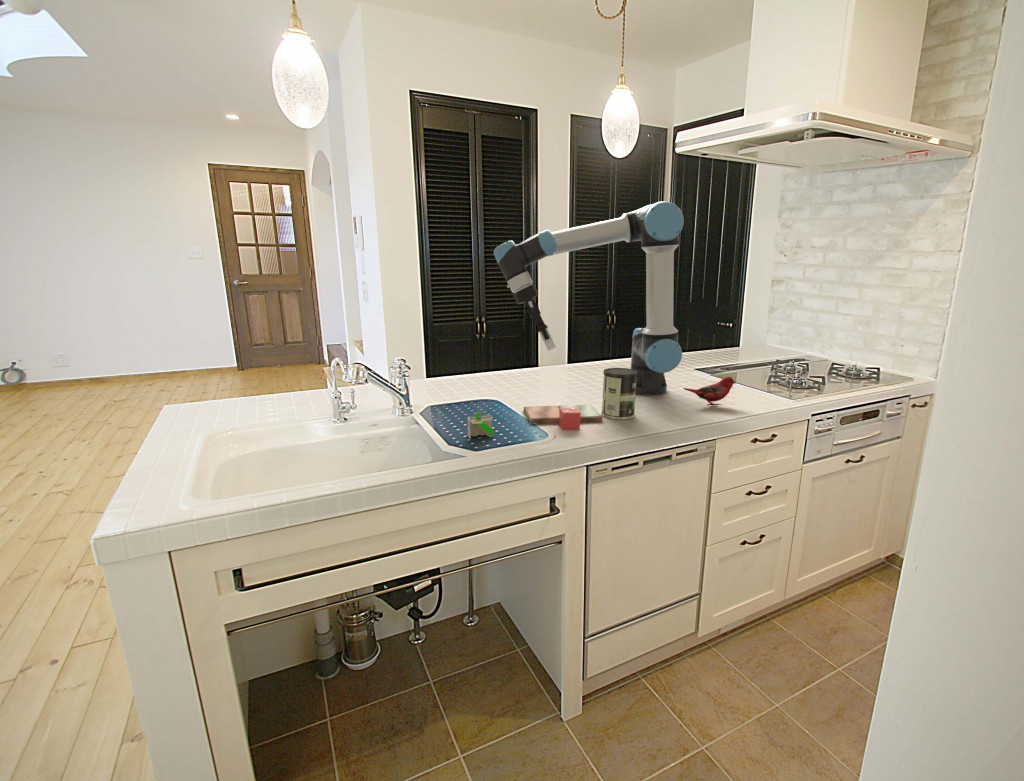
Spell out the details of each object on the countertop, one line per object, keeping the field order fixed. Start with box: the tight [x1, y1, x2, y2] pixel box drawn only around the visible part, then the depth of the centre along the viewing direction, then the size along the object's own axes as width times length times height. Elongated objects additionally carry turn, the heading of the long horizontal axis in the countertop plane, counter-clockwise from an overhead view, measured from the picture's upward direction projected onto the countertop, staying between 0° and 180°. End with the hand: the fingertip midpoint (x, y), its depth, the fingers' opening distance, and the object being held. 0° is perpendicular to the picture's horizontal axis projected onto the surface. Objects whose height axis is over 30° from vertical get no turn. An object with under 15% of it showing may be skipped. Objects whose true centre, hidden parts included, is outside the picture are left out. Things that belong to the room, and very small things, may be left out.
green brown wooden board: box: [523, 404, 604, 425], centre depth 163 cm, size 22×13×2 cm, turn 98°
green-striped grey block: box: [467, 411, 494, 440], centre depth 144 cm, size 4×7×8 cm, turn 109°
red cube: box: [558, 408, 581, 431], centre depth 153 cm, size 5×5×5 cm
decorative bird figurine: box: [682, 376, 736, 406], centre depth 174 cm, size 3×18×10 cm, turn 93°
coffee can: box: [601, 367, 638, 420], centre depth 164 cm, size 10×10×14 cm
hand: (551, 348), depth 172 cm, fingers open, 13 cm apart
